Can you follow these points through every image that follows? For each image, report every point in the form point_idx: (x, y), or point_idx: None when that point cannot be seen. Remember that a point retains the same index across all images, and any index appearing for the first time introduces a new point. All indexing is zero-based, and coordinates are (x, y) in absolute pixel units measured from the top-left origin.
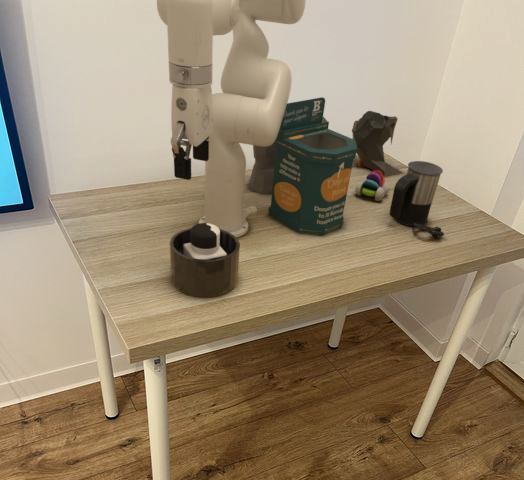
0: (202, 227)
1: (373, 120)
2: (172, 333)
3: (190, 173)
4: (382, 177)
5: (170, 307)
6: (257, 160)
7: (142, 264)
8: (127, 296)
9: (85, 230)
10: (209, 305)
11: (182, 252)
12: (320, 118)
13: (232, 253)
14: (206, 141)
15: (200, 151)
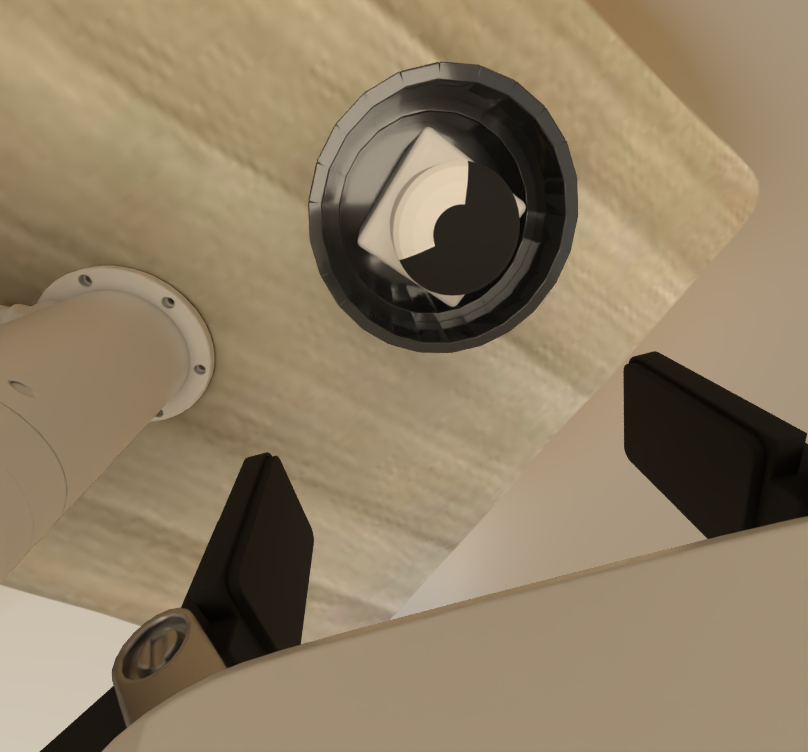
0: (466, 244)
1: None
2: (691, 136)
3: (680, 368)
4: None
5: (588, 216)
6: None
7: (452, 394)
8: (589, 334)
9: (403, 564)
10: None
11: (430, 312)
12: None
13: (456, 73)
14: (226, 596)
15: (285, 543)
